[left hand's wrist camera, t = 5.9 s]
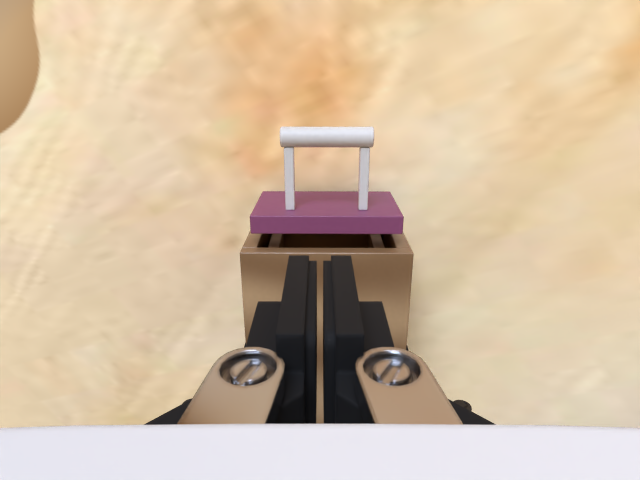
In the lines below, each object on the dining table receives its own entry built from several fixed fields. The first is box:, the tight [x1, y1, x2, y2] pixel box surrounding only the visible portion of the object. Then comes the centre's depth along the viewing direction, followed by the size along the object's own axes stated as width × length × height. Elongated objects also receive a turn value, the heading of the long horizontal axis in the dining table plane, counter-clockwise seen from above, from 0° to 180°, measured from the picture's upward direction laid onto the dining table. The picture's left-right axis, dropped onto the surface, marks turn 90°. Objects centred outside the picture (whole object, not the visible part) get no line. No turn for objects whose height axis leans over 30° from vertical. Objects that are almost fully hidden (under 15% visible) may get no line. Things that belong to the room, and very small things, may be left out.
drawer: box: [250, 127, 404, 248], centre depth 33 cm, size 19×10×6 cm, turn 0°
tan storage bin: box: [240, 230, 413, 424], centre depth 35 cm, size 15×11×8 cm
